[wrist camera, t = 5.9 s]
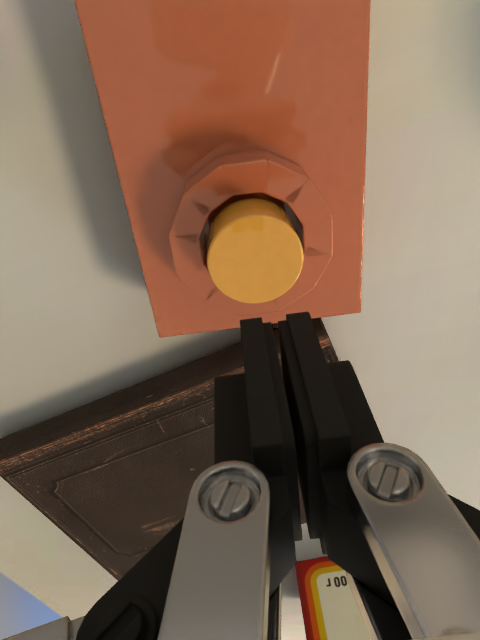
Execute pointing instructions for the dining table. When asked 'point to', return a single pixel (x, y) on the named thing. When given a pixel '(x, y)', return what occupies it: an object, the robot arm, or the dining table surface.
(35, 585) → the dining table surface
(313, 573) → the baking soda box
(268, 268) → the yellow push button
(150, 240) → the push button box
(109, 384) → the dining table surface
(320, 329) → the hardcover book
